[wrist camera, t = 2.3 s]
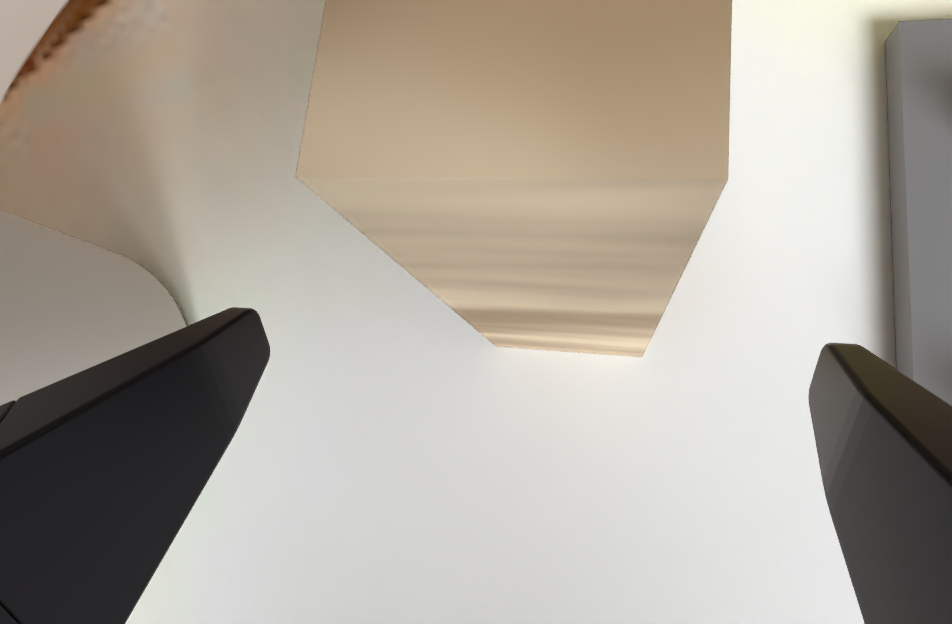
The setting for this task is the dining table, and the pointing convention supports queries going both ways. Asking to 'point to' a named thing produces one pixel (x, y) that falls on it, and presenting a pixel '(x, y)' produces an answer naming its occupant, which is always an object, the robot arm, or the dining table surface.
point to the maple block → (527, 154)
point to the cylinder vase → (70, 306)
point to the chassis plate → (921, 198)
